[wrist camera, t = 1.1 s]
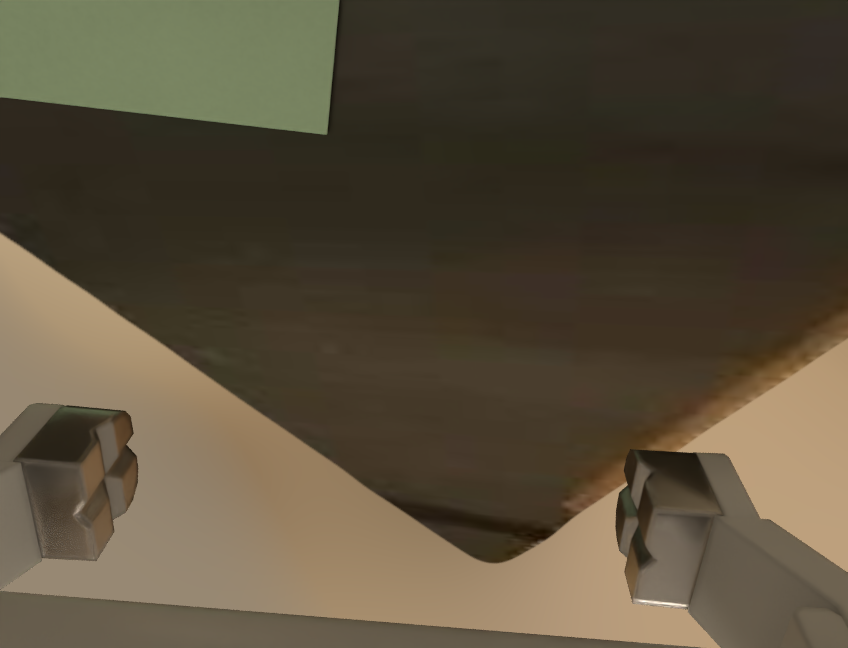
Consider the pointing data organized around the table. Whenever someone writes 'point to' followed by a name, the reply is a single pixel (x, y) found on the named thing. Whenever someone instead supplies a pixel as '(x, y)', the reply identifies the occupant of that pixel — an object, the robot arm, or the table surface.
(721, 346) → the table surface
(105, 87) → the felt mat
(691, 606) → the robot arm
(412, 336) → the table surface
